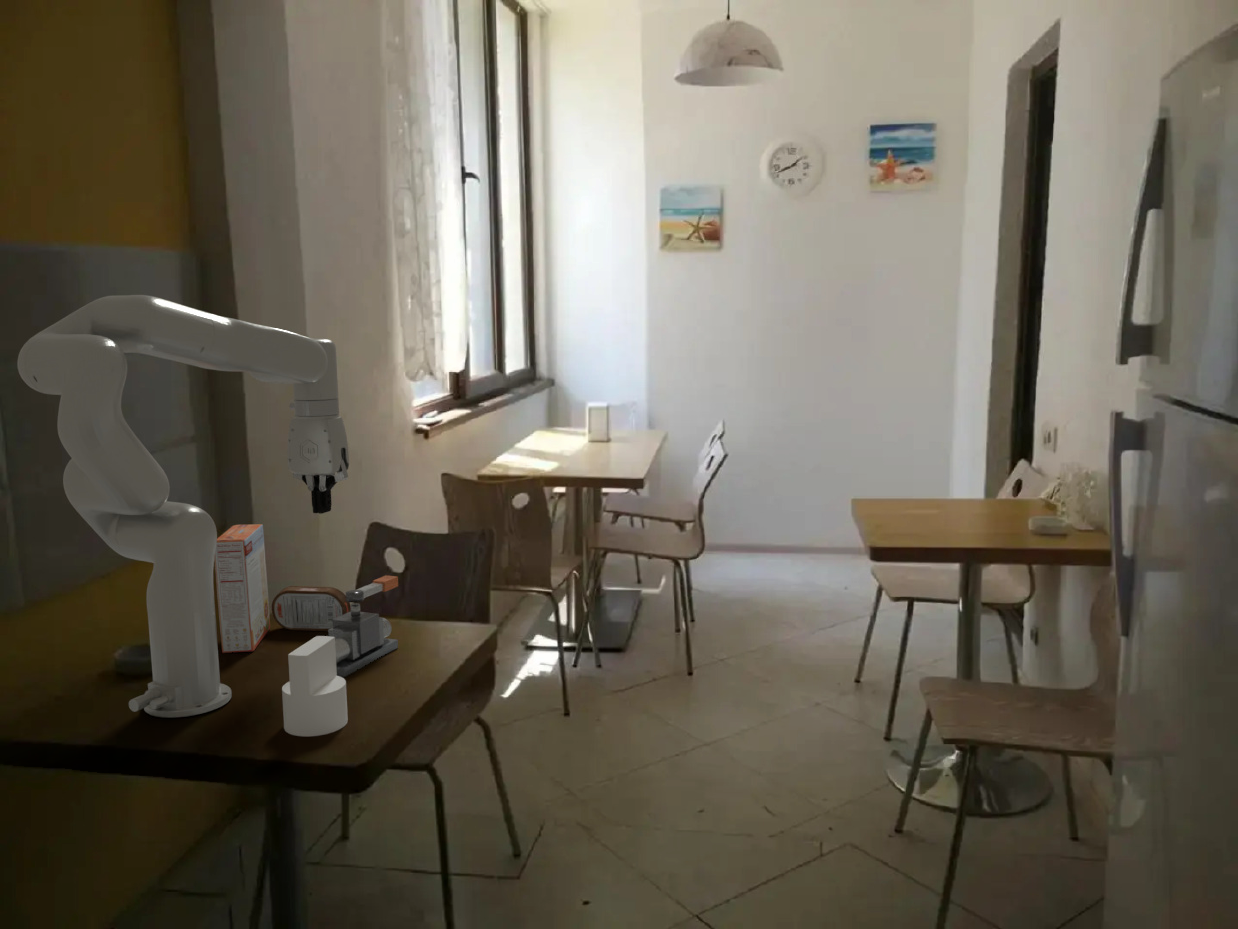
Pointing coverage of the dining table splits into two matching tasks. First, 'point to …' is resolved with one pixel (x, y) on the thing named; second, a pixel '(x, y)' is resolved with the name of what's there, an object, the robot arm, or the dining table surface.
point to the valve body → (360, 639)
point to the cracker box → (242, 588)
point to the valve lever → (372, 588)
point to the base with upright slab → (314, 690)
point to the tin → (309, 607)
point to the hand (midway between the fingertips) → (322, 511)
